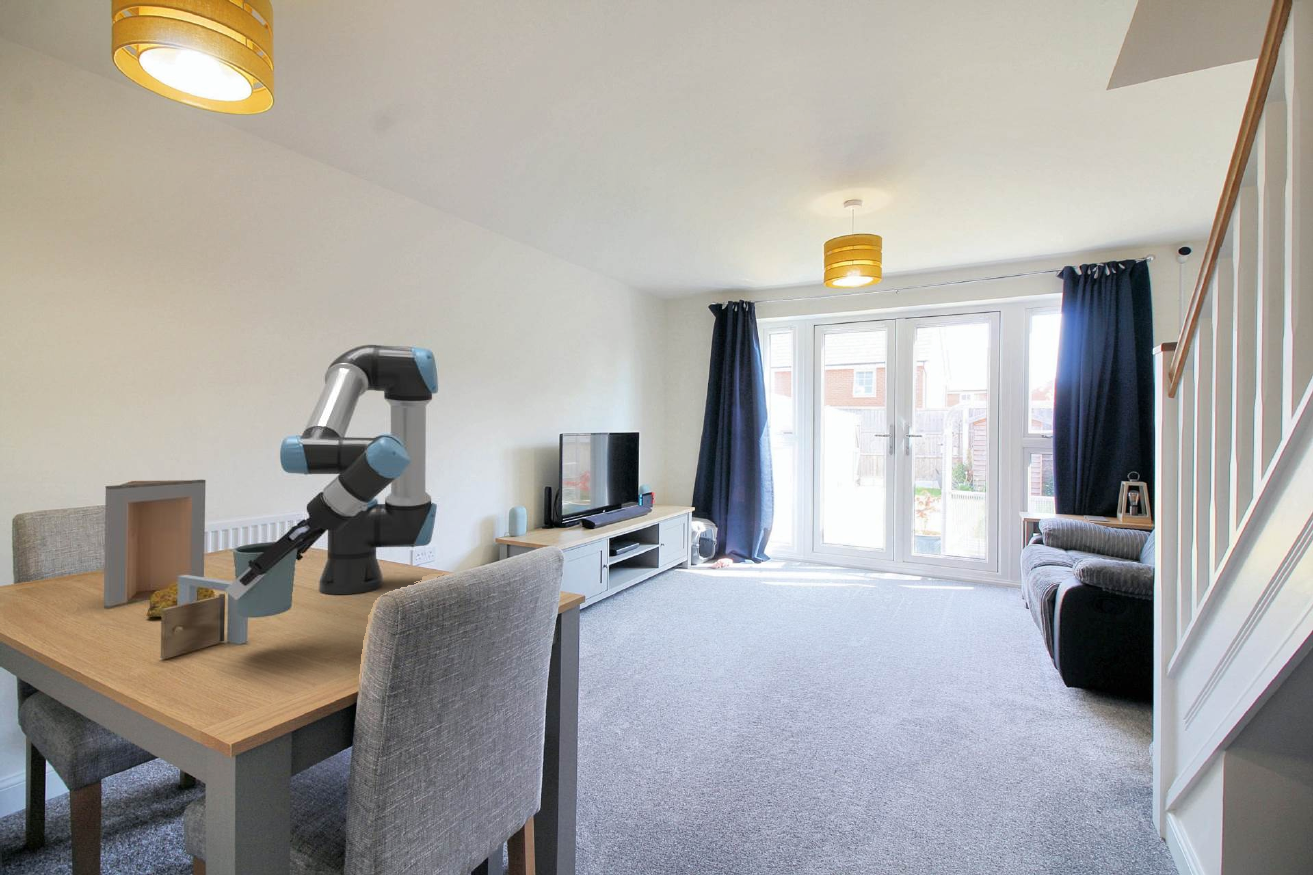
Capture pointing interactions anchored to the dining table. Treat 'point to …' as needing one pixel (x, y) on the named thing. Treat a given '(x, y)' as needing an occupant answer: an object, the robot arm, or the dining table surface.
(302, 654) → the dining table surface
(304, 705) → the dining table surface
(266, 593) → the teal cup
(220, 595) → the door
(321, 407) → the robot arm
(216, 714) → the dining table surface
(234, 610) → the grey rectangular arch
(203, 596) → the rock
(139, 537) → the cabinet
